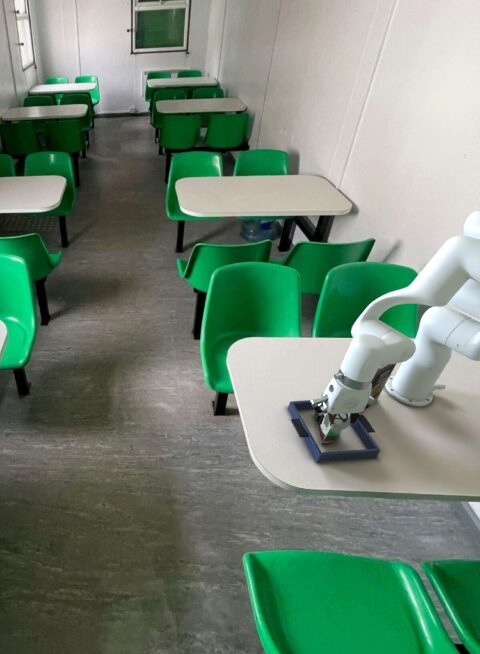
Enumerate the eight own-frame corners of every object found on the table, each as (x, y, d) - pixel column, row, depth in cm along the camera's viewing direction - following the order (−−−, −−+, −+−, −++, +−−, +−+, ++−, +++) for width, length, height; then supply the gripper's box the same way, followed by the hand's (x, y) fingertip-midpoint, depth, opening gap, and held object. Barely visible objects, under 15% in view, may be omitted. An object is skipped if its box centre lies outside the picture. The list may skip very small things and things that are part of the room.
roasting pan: (347, 404, 130) (351, 397, 128) (384, 457, 115) (389, 450, 113) (279, 409, 129) (282, 401, 127) (307, 463, 114) (311, 455, 112)
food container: (346, 452, 117) (358, 429, 111) (322, 448, 118) (333, 425, 112) (335, 416, 127) (345, 394, 121) (313, 414, 128) (322, 391, 122)
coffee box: (358, 412, 128) (377, 374, 118) (339, 398, 132) (356, 360, 123) (377, 401, 131) (397, 363, 121) (358, 387, 136) (376, 350, 126)
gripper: (328, 389, 105) (309, 433, 115) (395, 386, 106) (371, 429, 116) (314, 368, 112) (297, 411, 122) (377, 365, 112) (355, 408, 122)
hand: (333, 420), depth 119 cm, fingers open, 9 cm apart
